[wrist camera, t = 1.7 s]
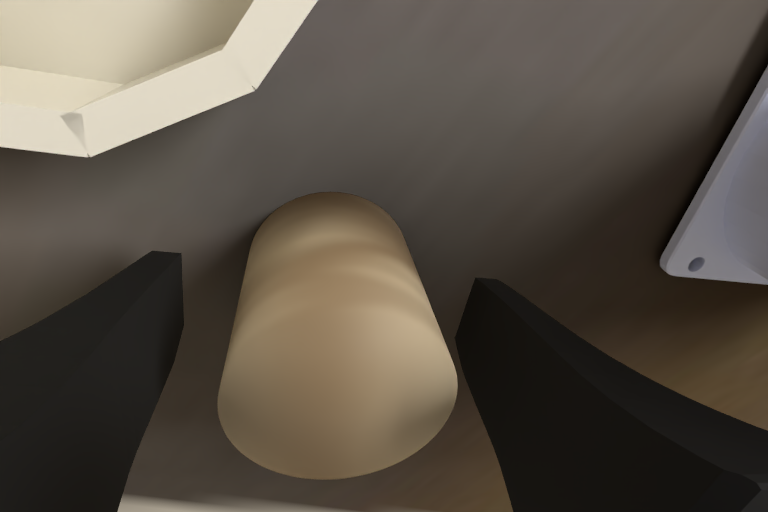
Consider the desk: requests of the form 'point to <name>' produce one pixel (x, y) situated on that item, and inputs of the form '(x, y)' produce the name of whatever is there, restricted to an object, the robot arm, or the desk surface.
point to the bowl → (129, 65)
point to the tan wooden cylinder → (333, 345)
